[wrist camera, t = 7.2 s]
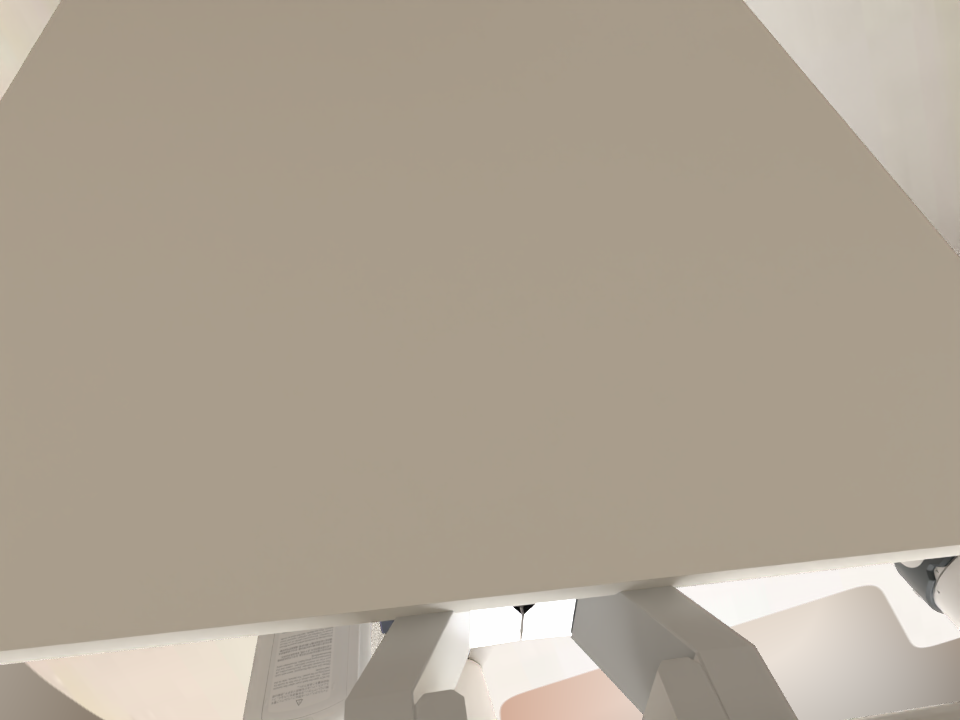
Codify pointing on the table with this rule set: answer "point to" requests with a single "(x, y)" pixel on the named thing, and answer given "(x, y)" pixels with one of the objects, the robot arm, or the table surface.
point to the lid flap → (446, 318)
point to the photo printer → (307, 672)
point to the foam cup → (475, 692)
